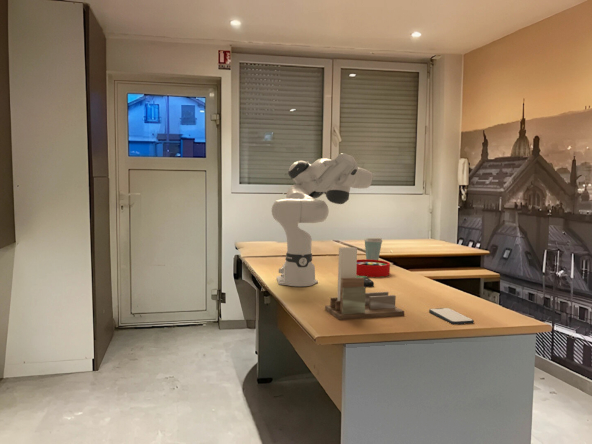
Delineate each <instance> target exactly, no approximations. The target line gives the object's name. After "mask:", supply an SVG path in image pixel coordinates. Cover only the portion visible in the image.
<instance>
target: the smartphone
mask: <svg viewBox="0 0 592 444" xmlns="http://www.w3.org/2000/svg"><path fill="white" fill-rule="evenodd" d="M428 313H429V314H431V315H433V316H434V317H437V318H438V319H441V320H443V321H444V322H446V321H447V323H448V322H449V324H450V323H451V324H450V325H454V324H458V325H465V324H464V323H473V322H474V323H475V320H474V319H473V318H470V317H468V316H467V315H463V314H462V313H460V312H458V311H456V310H453V309H452V308H451V307H450V308H449V307H443V308H442V307H440V308H429V310H428ZM474 323H473V324H474Z"/></svg>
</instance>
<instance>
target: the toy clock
mask: <svg viewBox="0 0 592 444" xmlns="http://www.w3.org/2000/svg"><path fill="white" fill-rule="evenodd" d="M390 270H391V263H390V262H388V261H385V260H379V259H378V260H368V259H366V258H364V259H357V269H356V276H358V275H359V276H367V277H368V278H370V277H371V278H381V277H380V276H384V277H388V276H390V275H389V274H390V272H391V271H390ZM387 275H388V276H387Z"/></svg>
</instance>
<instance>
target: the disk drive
mask: <svg viewBox="0 0 592 444" xmlns="http://www.w3.org/2000/svg"><path fill="white" fill-rule="evenodd" d="M358 277H363V278H364V287H366V288H374V286H375V283H374V281H373V280H372V279H370V277H366V276H358V275H356V278H358Z"/></svg>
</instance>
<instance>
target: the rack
mask: <svg viewBox="0 0 592 444" xmlns="http://www.w3.org/2000/svg"><path fill="white" fill-rule="evenodd" d="M337 297H338V296H336V297H330V304H329V305H324V310H325V311H326V312H327V313H329V314H331V315H332V316H334V318H336V319H338V320H339V321H343V320H345V321H346V320H355V319H356V320H358V319H370V318H371V319H372V318H384V317H399V316H405V311H404V310H403V309H401V308H399V307H397V306H396V295H395V294H389V291H379V292H378V291H377V292H375V291H373V292H366V293H365V313H358V314H342V313H341V312H340V302H341V301H337Z"/></svg>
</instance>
